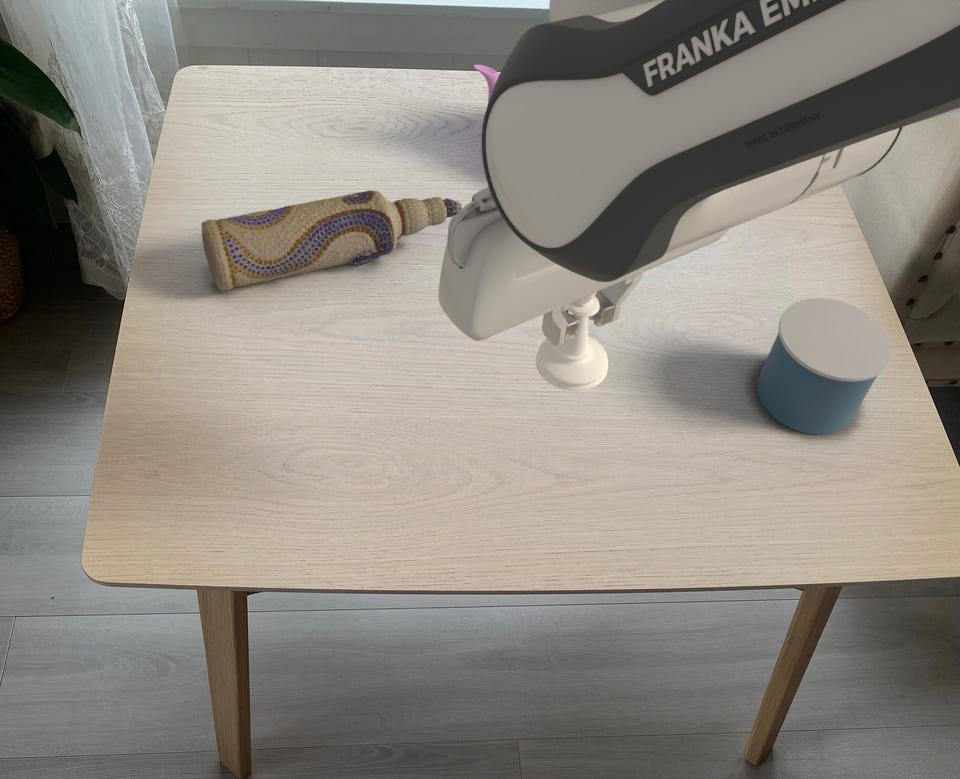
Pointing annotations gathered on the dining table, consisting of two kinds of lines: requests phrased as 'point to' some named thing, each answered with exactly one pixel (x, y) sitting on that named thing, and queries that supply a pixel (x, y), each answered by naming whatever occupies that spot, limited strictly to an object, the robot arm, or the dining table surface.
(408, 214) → the decorative bottle
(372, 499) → the dining table surface
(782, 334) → the yogurt tub
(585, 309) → the chess piece
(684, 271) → the dining table surface
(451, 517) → the dining table surface
